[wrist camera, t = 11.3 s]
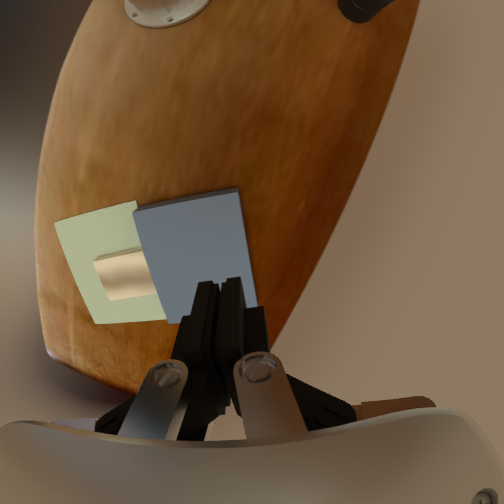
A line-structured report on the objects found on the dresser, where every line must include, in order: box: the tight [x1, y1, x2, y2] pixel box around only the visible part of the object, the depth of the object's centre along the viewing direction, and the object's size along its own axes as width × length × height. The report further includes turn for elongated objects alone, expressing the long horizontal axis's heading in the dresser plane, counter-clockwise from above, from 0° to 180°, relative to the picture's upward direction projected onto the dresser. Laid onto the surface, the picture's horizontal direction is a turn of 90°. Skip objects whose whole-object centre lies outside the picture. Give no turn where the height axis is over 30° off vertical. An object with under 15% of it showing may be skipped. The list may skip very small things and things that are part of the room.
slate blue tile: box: [132, 188, 258, 324], centre depth 39 cm, size 18×14×3 cm
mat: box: [54, 200, 167, 324], centre depth 40 cm, size 20×16×1 cm
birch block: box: [93, 246, 157, 301], centre depth 39 cm, size 7×9×2 cm
